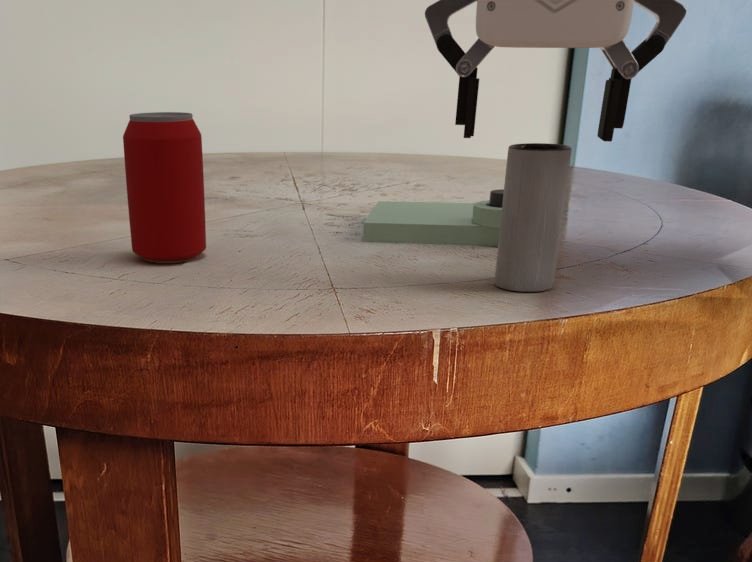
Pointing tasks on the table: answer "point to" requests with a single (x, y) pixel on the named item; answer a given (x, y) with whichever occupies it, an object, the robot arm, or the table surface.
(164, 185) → the beverage can
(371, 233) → the green flat block
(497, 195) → the button
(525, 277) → the grey cylinder
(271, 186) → the table surface
